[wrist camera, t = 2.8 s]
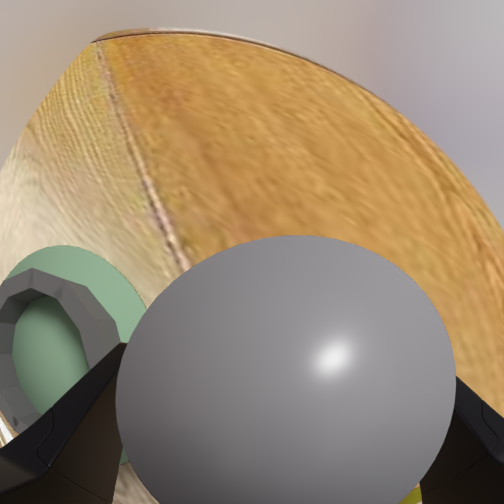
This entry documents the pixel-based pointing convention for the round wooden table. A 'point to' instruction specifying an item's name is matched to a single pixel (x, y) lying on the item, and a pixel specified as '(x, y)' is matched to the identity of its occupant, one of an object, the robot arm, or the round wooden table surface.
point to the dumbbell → (413, 497)
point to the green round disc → (59, 327)
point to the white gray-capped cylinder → (286, 379)
